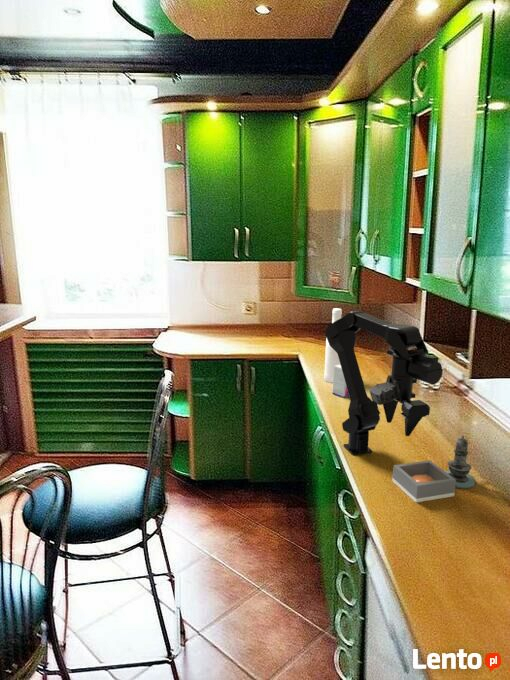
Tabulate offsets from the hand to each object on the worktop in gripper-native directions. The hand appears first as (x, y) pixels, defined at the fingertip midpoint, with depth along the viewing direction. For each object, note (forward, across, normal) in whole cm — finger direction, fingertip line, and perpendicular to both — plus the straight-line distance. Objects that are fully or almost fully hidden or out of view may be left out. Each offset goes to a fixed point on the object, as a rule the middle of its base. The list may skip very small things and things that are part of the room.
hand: (398, 428), depth 145 cm
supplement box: (+12, -59, +13) cm, 62 cm away
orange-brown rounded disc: (+11, +11, +2) cm, 15 cm away
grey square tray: (+12, +11, +2) cm, 16 cm away
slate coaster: (+12, +10, +13) cm, 20 cm away
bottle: (+12, -76, +17) cm, 79 cm away
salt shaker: (+11, +10, +13) cm, 20 cm away
